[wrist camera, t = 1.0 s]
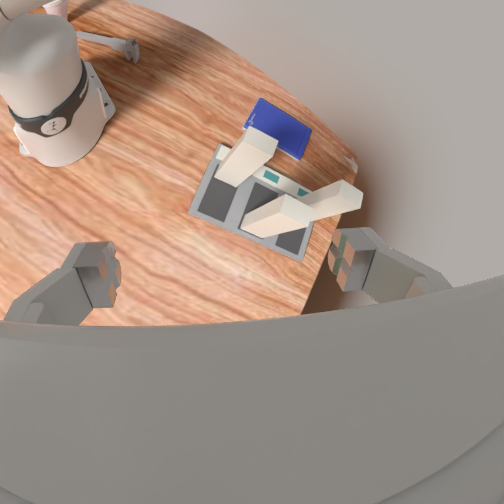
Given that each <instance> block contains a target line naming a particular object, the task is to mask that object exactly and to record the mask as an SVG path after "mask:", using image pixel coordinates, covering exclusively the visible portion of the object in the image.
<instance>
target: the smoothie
mask: <svg viewBox="0 0 504 504" xmlns="http://www.w3.org/2000/svg"><path fill="white" fill-rule="evenodd" d="M43 7H45V10H46V12H47V14H53V15H58V16H60V17H62V18H64V19H66V20H67V17H68V0H55V1H53V2H50V3H48V4H45V5H43Z"/></svg>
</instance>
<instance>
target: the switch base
mask: <svg viewBox="0 0 504 504" xmlns="http://www.w3.org/2000/svg"><path fill="white" fill-rule="evenodd" d="M230 150H231V148H229V147H226V146H224V145H222V144H220V143H219V145H218V146H217V148H216V150H215V153H214V155H213V157H212V159H211V161H210V163H209V165H208V167H207V170H206V172H205V174H204V176H203V178H202V181H201V183H200V185H199V187H198V190H197V192H196V194H195V196H194V199H193V201H192V203H191V206H190V208H189V210H188V213H187V214H190V215H192V216H194V217H197V218H199V219H201V220H204V221H206V222H208V223H211V224H213V225H215V226H218V227H220V228H222V229H225V230H227V231H229V232H231V233H234V234H236V235H238V236H241V237H243V238H245V239H248V240H250V241H252V242H255V243H257V244H259V245H261V246H264V247H266V248H268V249H271V250H273V251H275V252H277V253H280V254H282V255H284V256H287V257H289V258H291V259H293V260H296V261H298V262H302V260H303V256H304V253H305V250H306V247H307V243H308V240H309V237H310V233H311V230H312V227H313V223H314V221H310V222H309V226H308V227H305V228H301V229H297V230H293V231H289V232H285V233H281V234H277V235H273V236H269V237H265V238H260V237H258V236H256V235H254V234H251V233H249V232H247V231H245V230H242V229H240V227H241V224H242V222H243V219H244V216H245V215H246V214H248V213H250V212H251V211H253V210H255V209H257V208H259V207H261V206H263V205H265V204H267V203H269V202H271V201H273V200H275V199H277V198H279V197H281V196H283V195H284V194H287V195H289V196H291V197H293V198H294V199H297V198H299V197H302V196H304V195H306V194H309V193H311V192H313V191H311V190H309V189H307V188H306V187H304V186H302V185H300V184H299V183H297V182H295V181H293V180H291V179H289V178H288V177H286V176H284V175H282V174H280V173H278V172H276V171H274V170H273V169H271V168H269V167H267V166H265V165H262V166H261V167H260V168H258V169H257V170H256V171H255V172H254V173H252V174H251V175H250V176H249V177H248V178H247V179H245V180H244V181H243V182H242V183H241V184H240V185H238V186H237V187H234V186H232V185H230V184H228V183H225V182H223V181H221V180H219V179H217V178H215V177H214V176H215V173H216V171H217V169H218V167H219V165H220V163H221V162H222V161H223V159H224V158H225V157H226V155H227V154H228V153H229V151H230Z"/></svg>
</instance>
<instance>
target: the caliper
mask: <svg viewBox="0 0 504 504" xmlns="http://www.w3.org/2000/svg"><path fill="white" fill-rule="evenodd" d="M76 36H77V38H80V39H84V40H88V41H93V42H97V43H101V44H105V45H108V46H111V47H112V49H115V50H117V51H118V50H122V51H123V52H124V54H125V56H126V58H127V60H128V61H130V60H131V59H132V58H133V61H134V63H137V62H138V61H139V57H140V50H139V46H138V44H137V43H136V41H135V39H134V40H133V41H132V39H131V38H129V39H128V40H123V39H119V38H115V37H113V38H109V37H105V36H101V35H96V34H91V33H86V32H81V31H77V32H76Z"/></svg>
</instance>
